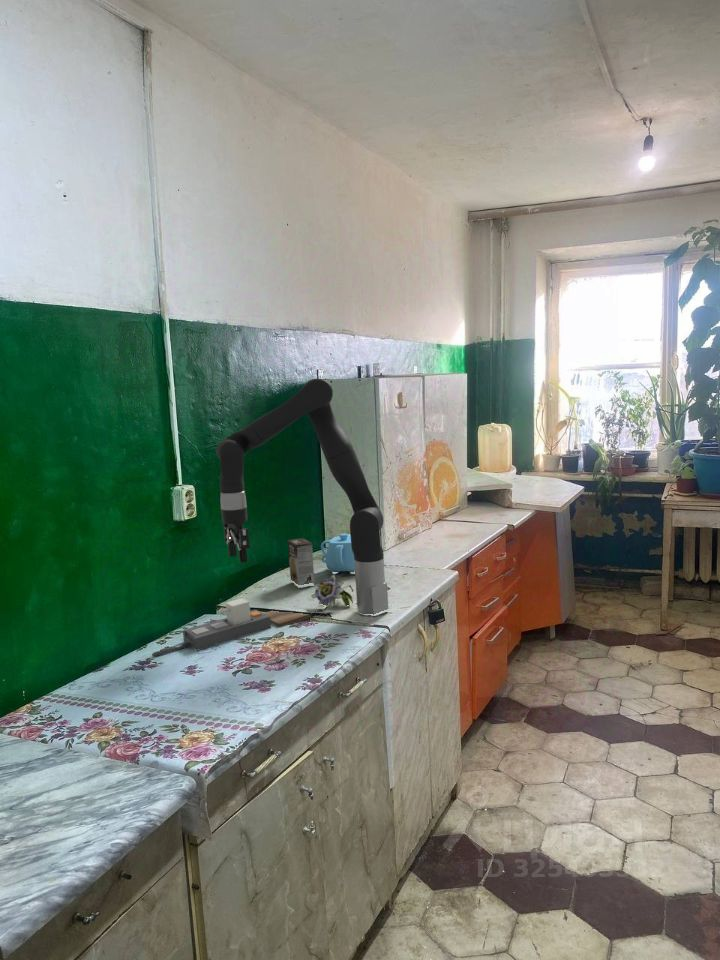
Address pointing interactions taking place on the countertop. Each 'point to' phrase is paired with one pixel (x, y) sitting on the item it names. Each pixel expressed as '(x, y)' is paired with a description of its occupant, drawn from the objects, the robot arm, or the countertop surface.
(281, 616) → the walnut pad
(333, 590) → the passion flower
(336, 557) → the teapot
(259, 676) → the countertop surface
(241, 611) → the block
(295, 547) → the coffee box
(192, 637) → the power strip
